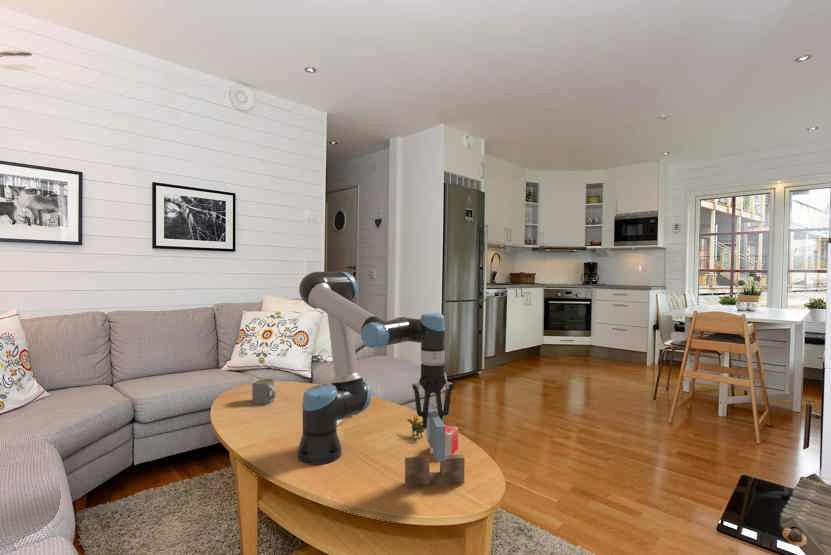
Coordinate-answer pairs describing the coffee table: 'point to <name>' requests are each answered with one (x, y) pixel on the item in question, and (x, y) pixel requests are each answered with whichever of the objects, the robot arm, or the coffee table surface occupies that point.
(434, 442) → the grey slotted plate
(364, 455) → the coffee table surface
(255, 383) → the coffee mug
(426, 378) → the robot arm
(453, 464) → the walnut slotted upright
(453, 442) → the red patterned cube
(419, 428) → the figurine
